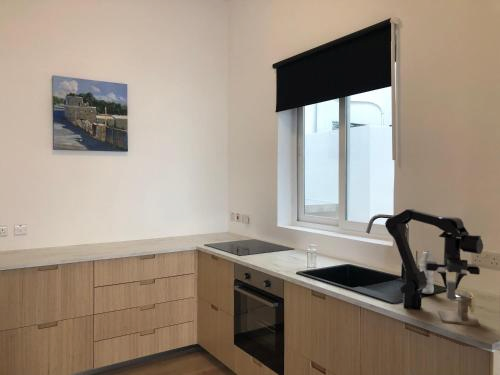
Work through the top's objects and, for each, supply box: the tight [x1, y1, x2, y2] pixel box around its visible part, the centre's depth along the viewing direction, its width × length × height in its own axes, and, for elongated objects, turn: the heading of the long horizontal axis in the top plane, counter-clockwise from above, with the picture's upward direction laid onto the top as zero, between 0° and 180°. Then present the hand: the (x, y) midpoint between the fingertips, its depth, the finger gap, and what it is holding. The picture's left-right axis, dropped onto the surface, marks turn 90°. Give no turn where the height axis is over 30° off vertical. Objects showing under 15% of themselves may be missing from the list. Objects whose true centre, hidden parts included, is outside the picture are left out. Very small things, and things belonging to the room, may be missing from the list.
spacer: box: [468, 292, 476, 313], centre depth 159 cm, size 1×6×6 cm, turn 162°
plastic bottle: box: [418, 250, 435, 295], centre depth 194 cm, size 6×7×20 cm
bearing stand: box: [437, 290, 481, 327], centre depth 160 cm, size 13×12×10 cm
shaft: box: [445, 279, 477, 303], centre depth 160 cm, size 10×3×8 cm, turn 72°
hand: (450, 289), depth 161 cm, fingers open, 3 cm apart
